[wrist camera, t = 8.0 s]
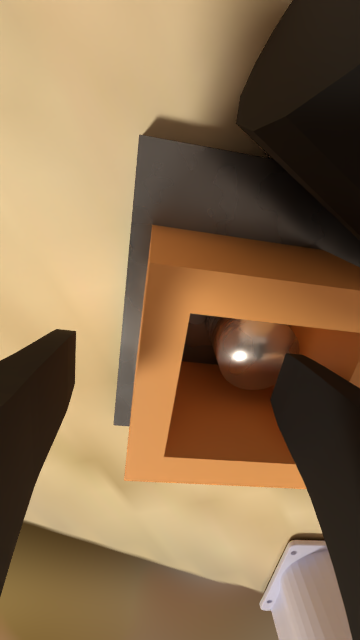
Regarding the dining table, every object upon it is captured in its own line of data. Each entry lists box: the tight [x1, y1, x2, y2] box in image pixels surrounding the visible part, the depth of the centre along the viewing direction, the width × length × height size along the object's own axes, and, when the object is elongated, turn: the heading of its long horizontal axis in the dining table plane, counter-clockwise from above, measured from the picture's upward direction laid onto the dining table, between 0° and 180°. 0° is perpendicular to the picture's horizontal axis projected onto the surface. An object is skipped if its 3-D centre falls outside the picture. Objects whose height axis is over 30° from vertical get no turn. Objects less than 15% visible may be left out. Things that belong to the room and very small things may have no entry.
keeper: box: [114, 135, 360, 426], centre depth 14 cm, size 14×11×4 cm
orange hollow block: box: [124, 225, 360, 489], centre depth 12 cm, size 8×8×6 cm
